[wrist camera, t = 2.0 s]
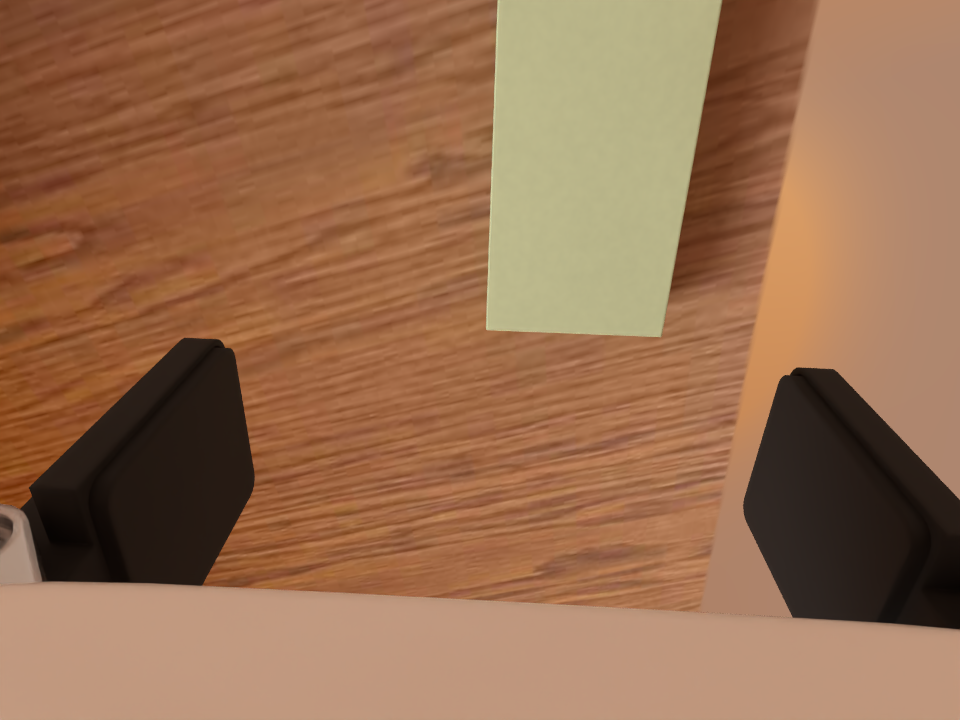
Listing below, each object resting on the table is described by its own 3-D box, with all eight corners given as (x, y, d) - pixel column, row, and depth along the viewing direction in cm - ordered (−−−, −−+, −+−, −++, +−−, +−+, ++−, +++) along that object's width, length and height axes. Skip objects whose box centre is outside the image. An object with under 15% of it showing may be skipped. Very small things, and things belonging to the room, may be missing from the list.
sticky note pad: (500, -38, 21) (499, -48, 18) (701, -32, 21) (730, -41, 18) (487, 300, 26) (486, 330, 24) (646, 306, 26) (662, 337, 24)
